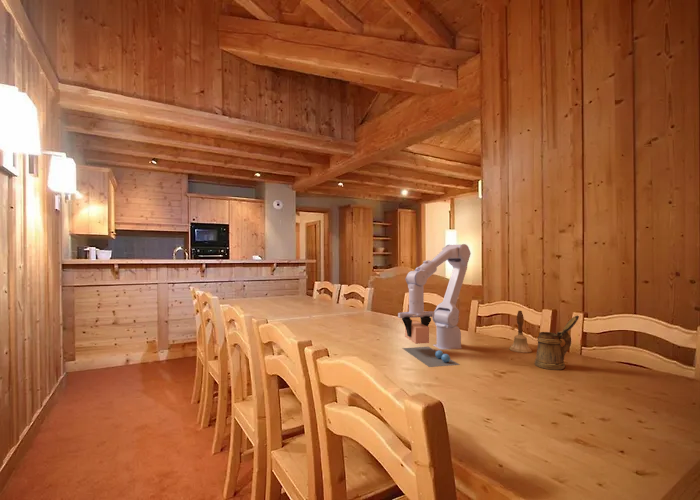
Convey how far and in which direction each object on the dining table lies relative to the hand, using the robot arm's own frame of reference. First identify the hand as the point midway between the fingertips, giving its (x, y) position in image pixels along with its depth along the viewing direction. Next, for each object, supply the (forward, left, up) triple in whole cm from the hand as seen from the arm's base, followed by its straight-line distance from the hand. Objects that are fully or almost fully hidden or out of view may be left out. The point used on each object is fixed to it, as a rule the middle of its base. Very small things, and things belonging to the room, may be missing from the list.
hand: (416, 335), depth 139 cm
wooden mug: (-40, +27, -7) cm, 49 cm away
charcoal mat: (-2, +6, -7) cm, 9 cm away
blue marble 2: (-5, +15, -6) cm, 17 cm away
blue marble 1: (-5, +11, -6) cm, 13 cm away
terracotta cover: (0, 0, -2) cm, 2 cm away
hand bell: (-43, +5, -7) cm, 44 cm away
